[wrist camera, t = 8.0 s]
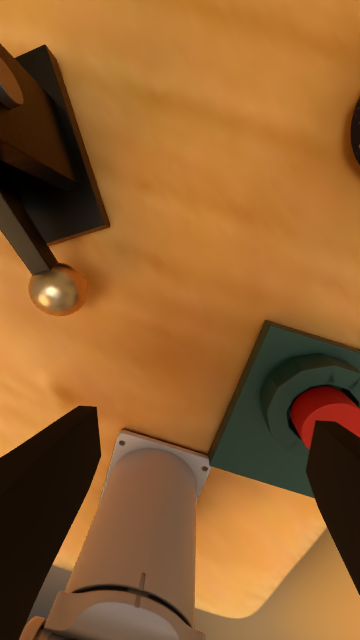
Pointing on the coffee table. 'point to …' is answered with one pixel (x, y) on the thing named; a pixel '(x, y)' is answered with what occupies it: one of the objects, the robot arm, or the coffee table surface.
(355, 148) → the beverage can
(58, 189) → the bracket
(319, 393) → the red button
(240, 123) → the coffee table surface
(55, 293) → the lever
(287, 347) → the button housing
